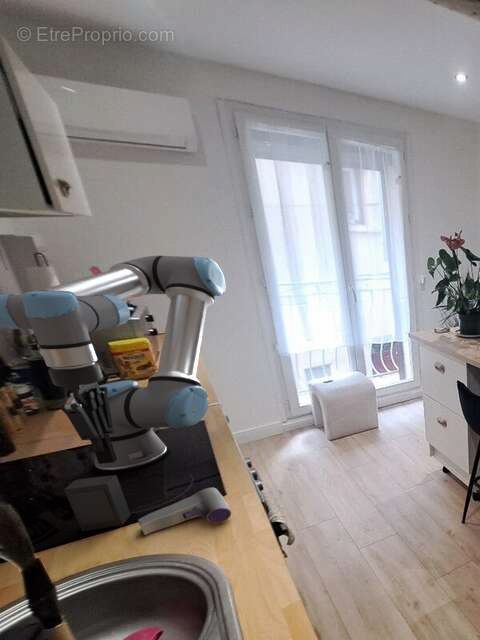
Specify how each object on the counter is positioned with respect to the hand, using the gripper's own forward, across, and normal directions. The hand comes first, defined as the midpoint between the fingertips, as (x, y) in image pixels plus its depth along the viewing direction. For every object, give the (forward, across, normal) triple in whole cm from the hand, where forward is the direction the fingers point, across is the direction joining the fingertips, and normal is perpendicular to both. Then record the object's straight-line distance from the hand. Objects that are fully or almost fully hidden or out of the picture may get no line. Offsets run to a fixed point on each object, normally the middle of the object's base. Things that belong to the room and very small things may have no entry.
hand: (108, 461), depth 96 cm
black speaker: (+12, +8, 0) cm, 14 cm away
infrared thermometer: (+12, +14, +17) cm, 25 cm away
